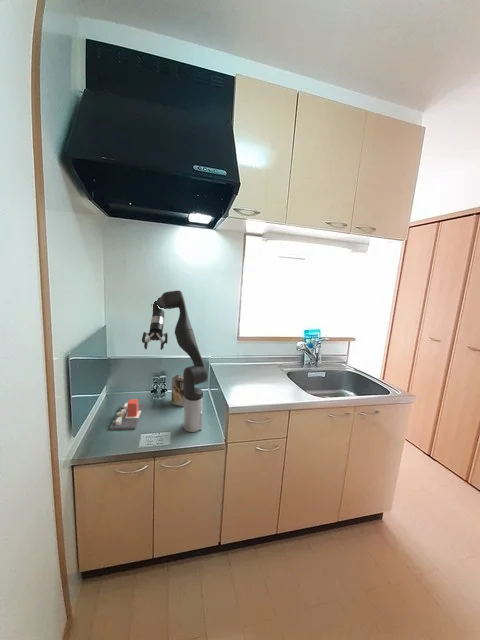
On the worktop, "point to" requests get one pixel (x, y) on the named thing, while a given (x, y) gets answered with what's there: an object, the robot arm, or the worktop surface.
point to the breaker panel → (126, 418)
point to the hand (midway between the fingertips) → (153, 349)
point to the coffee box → (178, 390)
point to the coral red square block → (132, 407)
